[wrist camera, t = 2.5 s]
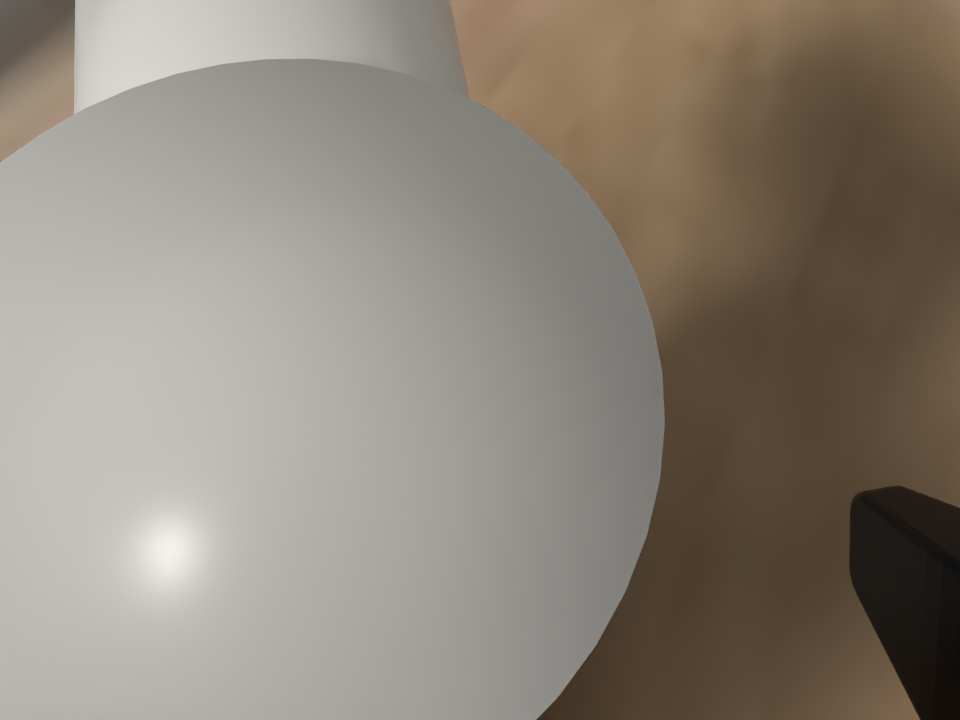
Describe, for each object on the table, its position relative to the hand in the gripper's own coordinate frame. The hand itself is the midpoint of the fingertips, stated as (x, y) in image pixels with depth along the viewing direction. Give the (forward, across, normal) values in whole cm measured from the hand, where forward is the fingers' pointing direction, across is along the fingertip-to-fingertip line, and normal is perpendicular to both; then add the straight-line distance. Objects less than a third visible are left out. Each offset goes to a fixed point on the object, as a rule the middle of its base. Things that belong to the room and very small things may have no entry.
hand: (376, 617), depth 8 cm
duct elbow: (+7, 0, +4) cm, 9 cm away
